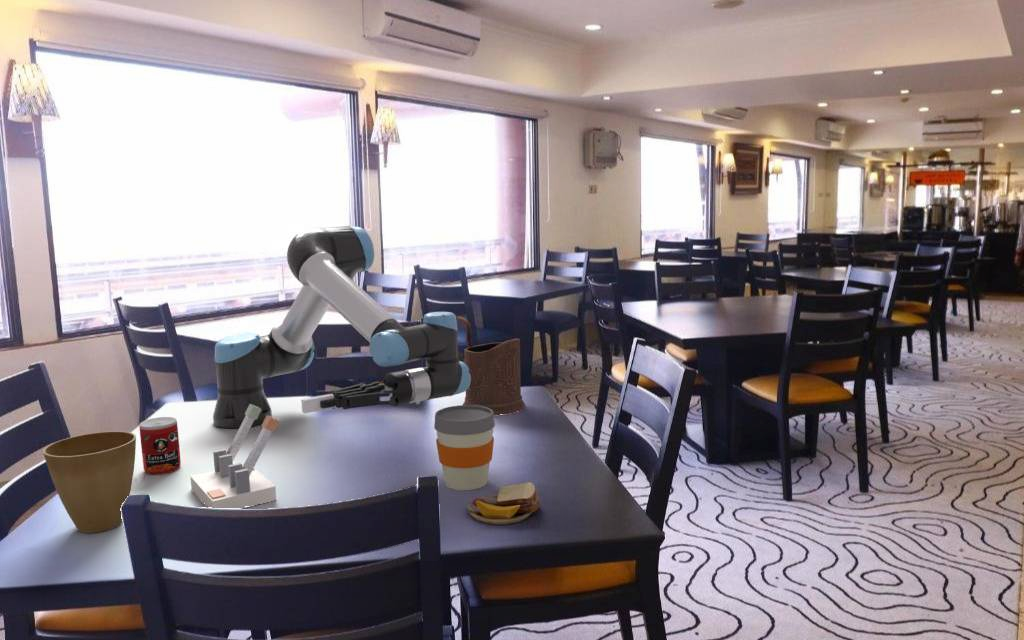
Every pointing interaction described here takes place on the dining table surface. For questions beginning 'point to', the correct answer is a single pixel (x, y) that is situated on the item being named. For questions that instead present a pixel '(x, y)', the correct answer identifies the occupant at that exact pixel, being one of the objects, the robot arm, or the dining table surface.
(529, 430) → the dining table surface
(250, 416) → the lever
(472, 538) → the dining table surface
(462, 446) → the reusable coffee cup
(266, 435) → the lever
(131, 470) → the plant pot
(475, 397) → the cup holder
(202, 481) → the console
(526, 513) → the toy sandwich meal
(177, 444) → the canned food
